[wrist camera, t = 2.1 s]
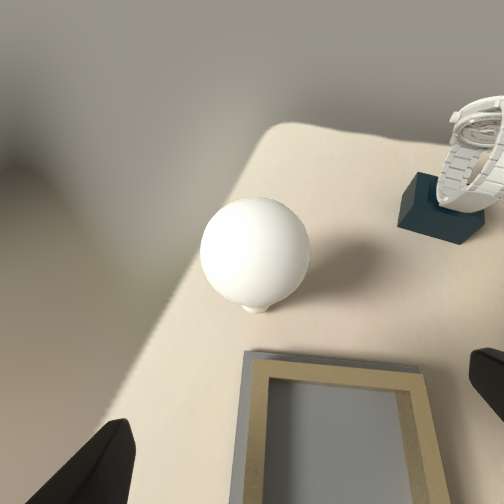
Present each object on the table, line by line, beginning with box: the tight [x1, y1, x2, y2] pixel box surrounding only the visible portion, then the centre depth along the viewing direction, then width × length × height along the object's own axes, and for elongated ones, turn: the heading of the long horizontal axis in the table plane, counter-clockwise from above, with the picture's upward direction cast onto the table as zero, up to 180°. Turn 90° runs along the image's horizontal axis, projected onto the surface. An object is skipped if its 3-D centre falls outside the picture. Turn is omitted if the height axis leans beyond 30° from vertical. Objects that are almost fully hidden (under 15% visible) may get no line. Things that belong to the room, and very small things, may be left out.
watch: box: [397, 96, 504, 245], centre depth 22 cm, size 6×8×11 cm
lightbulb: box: [200, 197, 311, 314], centre depth 17 cm, size 6×6×11 cm
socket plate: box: [229, 351, 451, 504], centre depth 15 cm, size 15×12×3 cm
